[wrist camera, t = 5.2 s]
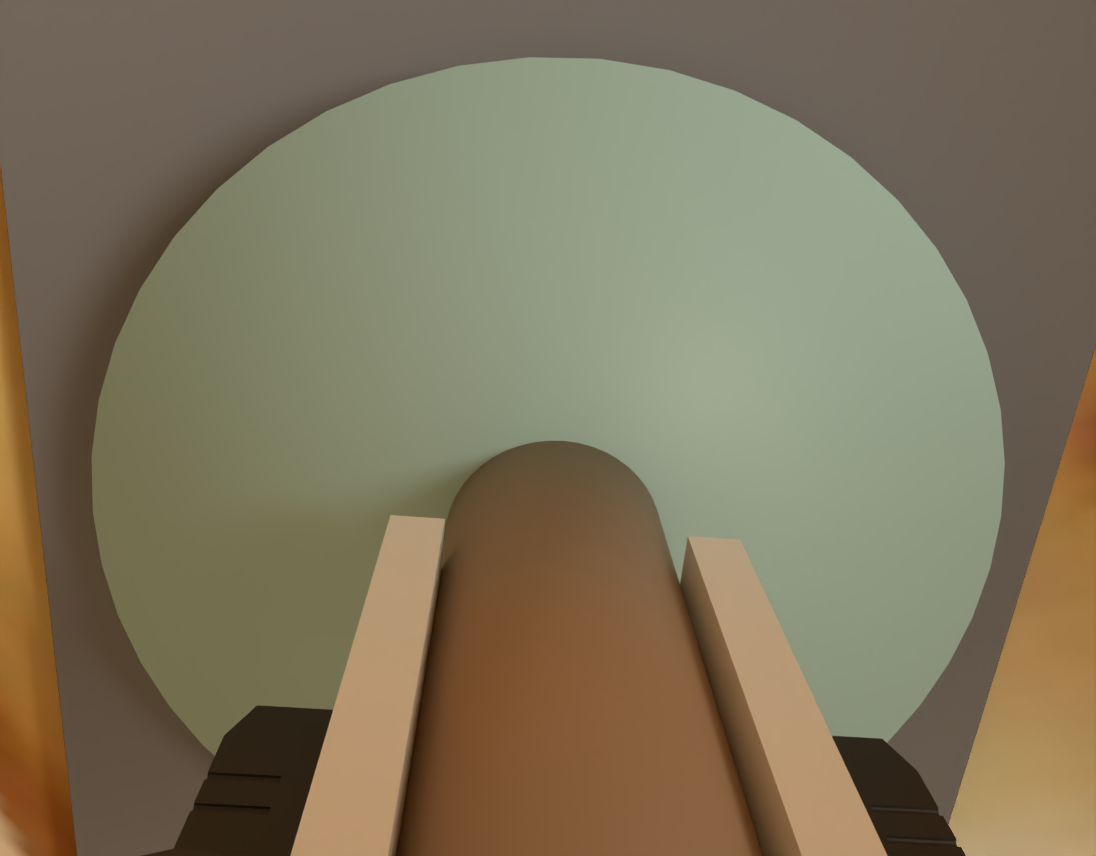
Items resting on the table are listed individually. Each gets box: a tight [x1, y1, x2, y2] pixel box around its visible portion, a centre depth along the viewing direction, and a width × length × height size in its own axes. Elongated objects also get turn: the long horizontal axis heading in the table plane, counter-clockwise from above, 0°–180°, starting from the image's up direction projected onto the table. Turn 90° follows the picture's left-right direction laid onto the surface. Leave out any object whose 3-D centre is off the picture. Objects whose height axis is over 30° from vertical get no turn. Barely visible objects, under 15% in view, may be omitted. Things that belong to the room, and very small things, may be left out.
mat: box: [0, 0, 1096, 856], centre depth 17 cm, size 20×18×1 cm
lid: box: [92, 57, 1005, 856], centre depth 11 cm, size 15×15×11 cm
